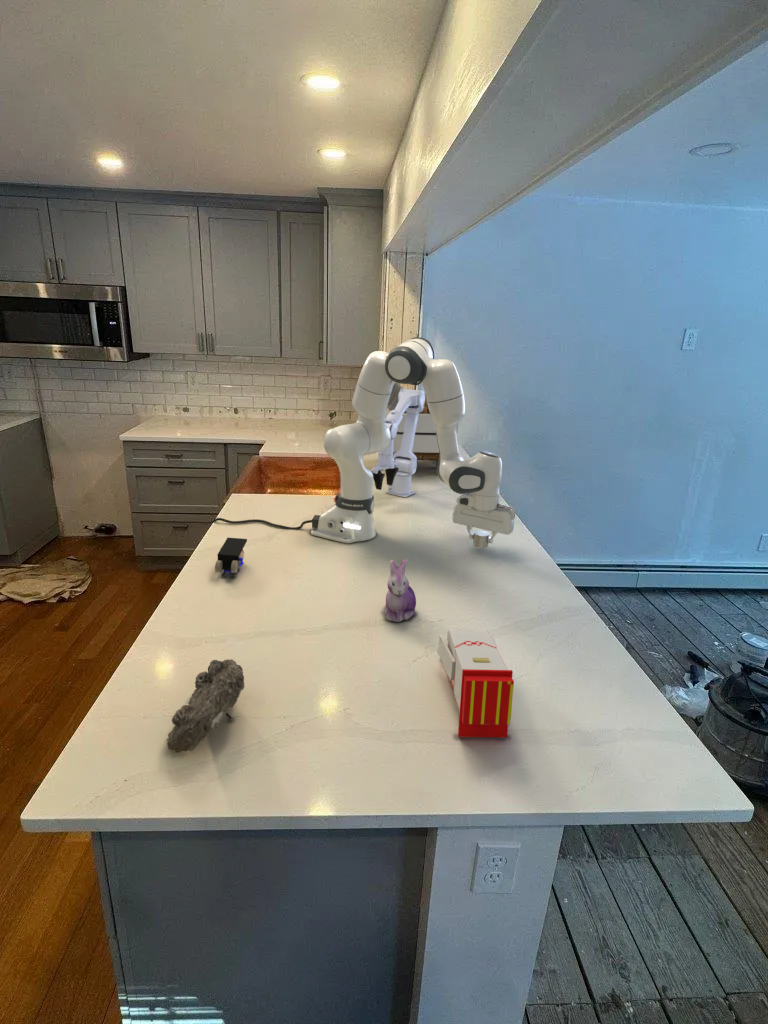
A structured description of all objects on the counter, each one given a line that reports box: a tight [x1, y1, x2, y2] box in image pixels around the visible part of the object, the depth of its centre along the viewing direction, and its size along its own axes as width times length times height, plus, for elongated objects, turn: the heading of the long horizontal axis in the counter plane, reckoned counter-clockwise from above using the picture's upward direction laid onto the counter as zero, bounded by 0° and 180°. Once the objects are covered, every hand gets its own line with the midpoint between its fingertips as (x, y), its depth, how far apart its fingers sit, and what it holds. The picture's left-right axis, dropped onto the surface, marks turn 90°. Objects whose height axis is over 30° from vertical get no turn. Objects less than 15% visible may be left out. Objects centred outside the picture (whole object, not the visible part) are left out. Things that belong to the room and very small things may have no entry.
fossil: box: [166, 658, 245, 754], centre depth 106 cm, size 22×10×15 cm
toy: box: [437, 628, 515, 738], centre depth 117 cm, size 12×13×30 cm
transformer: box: [385, 382, 460, 468], centre depth 277 cm, size 34×33×41 cm
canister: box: [472, 529, 490, 549], centre depth 188 cm, size 5×5×4 cm
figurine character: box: [214, 537, 248, 578], centre depth 166 cm, size 7×8×15 cm
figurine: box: [384, 558, 417, 623], centre depth 145 cm, size 9×10×15 cm
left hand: (480, 540), depth 188 cm, fingers closed on canister, 5 cm apart
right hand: (384, 487), depth 224 cm, fingers open, 7 cm apart
